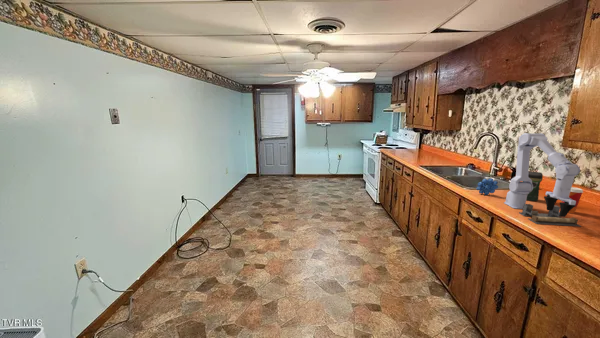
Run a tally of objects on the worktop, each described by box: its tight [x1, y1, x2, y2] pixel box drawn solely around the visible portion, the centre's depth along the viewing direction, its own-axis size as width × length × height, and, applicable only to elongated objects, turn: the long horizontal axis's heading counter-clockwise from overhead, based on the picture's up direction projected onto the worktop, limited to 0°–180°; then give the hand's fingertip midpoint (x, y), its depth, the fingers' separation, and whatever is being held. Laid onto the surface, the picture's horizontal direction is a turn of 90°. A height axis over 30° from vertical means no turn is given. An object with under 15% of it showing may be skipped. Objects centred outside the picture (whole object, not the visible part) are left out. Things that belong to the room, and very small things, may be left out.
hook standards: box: [518, 203, 564, 218], centre depth 133 cm, size 7×18×6 cm, turn 82°
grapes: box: [475, 177, 499, 196], centre depth 169 cm, size 12×7×12 cm, turn 56°
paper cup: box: [561, 186, 584, 214], centre depth 140 cm, size 8×8×14 cm
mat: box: [527, 218, 582, 228], centre depth 127 cm, size 6×20×1 cm, turn 82°
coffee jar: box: [522, 170, 544, 202], centre depth 160 cm, size 10×8×19 cm
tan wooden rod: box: [531, 215, 579, 224], centre depth 126 cm, size 19×3×3 cm, turn 82°
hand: (555, 213), depth 126 cm, fingers open, 7 cm apart
